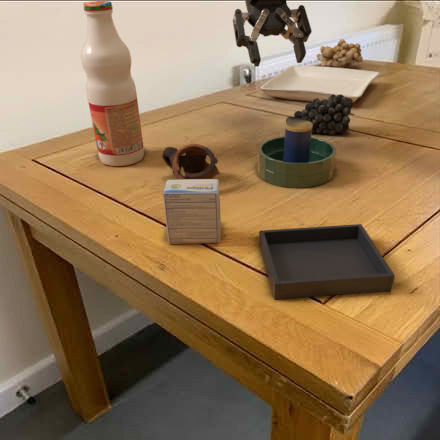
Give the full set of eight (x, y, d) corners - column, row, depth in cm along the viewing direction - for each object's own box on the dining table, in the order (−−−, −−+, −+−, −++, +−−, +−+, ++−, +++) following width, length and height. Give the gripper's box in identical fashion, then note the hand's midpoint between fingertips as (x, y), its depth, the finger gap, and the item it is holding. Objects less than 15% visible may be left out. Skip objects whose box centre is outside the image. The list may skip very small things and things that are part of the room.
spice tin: (304, 166, 91) (309, 119, 86) (310, 176, 87) (315, 127, 82) (280, 167, 91) (282, 120, 85) (284, 177, 87) (288, 129, 82)
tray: (358, 238, 70) (361, 223, 69) (391, 291, 60) (395, 275, 58) (258, 244, 70) (259, 230, 68) (274, 299, 59) (275, 283, 58)
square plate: (290, 77, 148) (291, 63, 146) (378, 84, 138) (381, 70, 136) (258, 100, 129) (258, 85, 127) (357, 110, 119) (359, 94, 117)
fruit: (286, 93, 101) (358, 92, 98) (287, 96, 108) (354, 95, 106) (284, 135, 103) (354, 136, 101) (285, 135, 111) (350, 135, 109)
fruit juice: (137, 168, 94) (114, 5, 76) (92, 166, 95) (60, 6, 78) (150, 150, 101) (131, -2, 84) (108, 149, 102) (81, -1, 85)
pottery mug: (228, 177, 90) (228, 149, 82) (204, 215, 87) (202, 189, 79) (175, 153, 92) (170, 124, 85) (150, 189, 89) (142, 162, 82)
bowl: (322, 158, 95) (324, 133, 92) (342, 188, 84) (345, 161, 81) (253, 162, 95) (253, 137, 92) (264, 192, 83) (265, 166, 80)
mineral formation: (341, 60, 164) (373, 65, 153) (312, 73, 160) (343, 78, 149) (340, 35, 159) (374, 38, 148) (310, 47, 155) (342, 51, 144)
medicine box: (221, 229, 73) (219, 178, 68) (220, 244, 70) (218, 191, 65) (171, 230, 74) (166, 178, 68) (167, 245, 70) (162, 192, 65)
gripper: (229, -31, 84) (247, 52, 82) (303, -35, 86) (322, 46, 85) (222, 1, 91) (239, 77, 89) (290, -4, 94) (308, 71, 92)
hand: (279, 62), depth 87 cm, fingers open, 8 cm apart
